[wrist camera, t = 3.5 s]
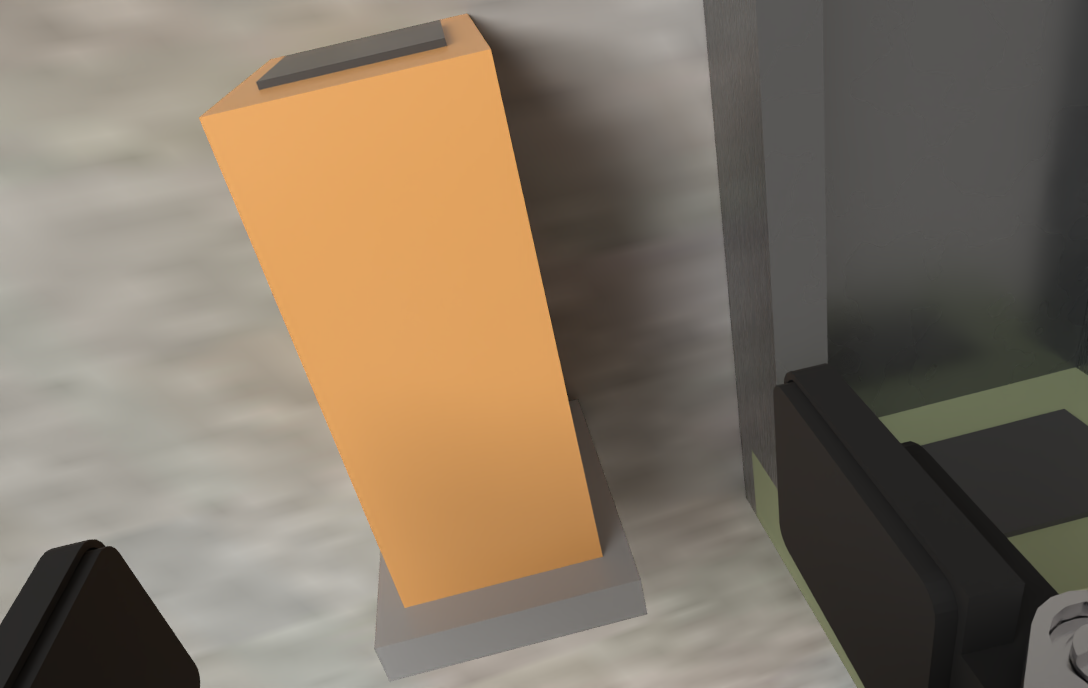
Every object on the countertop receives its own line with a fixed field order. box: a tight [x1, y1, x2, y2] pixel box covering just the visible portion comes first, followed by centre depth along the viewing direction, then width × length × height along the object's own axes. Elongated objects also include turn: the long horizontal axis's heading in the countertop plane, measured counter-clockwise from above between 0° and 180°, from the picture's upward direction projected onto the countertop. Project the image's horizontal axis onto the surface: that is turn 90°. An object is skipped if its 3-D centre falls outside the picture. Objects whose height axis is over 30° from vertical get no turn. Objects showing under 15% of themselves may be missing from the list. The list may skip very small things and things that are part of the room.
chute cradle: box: [703, 0, 1088, 688], centre depth 19 cm, size 22×13×9 cm, turn 11°
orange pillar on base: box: [199, 14, 647, 681], centre depth 18 cm, size 13×6×8 cm, turn 11°
